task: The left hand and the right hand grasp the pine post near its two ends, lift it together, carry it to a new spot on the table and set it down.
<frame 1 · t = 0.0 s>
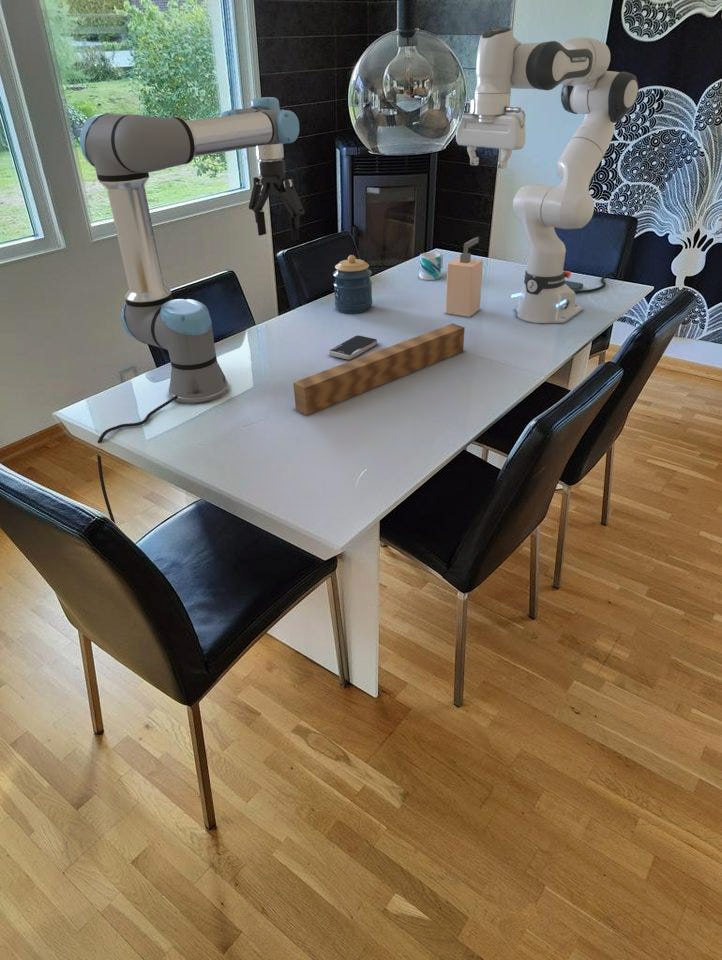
left hand: (278, 237, 202), 28 cm above the table, tool pointing down, fingers open, 13 cm apart
right hand: (488, 166, 175), 48 cm above the table, tool pointing down, fingers open, 8 cm apart
soap dispenser: (465, 309, 225), on the table
mug: (432, 276, 259), on the table
post: (385, 378, 181), on the table
smartphone: (353, 349, 199), on the table
canister: (353, 308, 230), on the table
smartphone 2: (559, 287, 242), on the table
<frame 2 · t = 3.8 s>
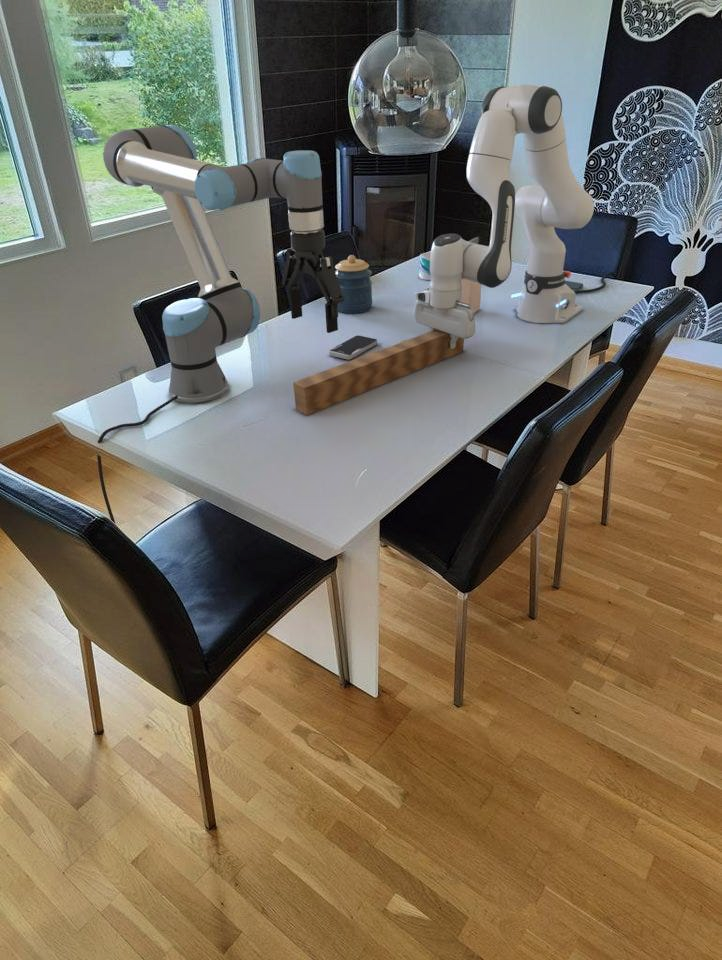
left hand: (314, 324, 158), 21 cm above the table, tool pointing down, fingers open, 13 cm apart
right hand: (443, 345, 191), 3 cm above the table, tool pointing down, fingers closed on post, 4 cm apart
post: (385, 378, 181), on the table, touching right hand
everything else where it was.
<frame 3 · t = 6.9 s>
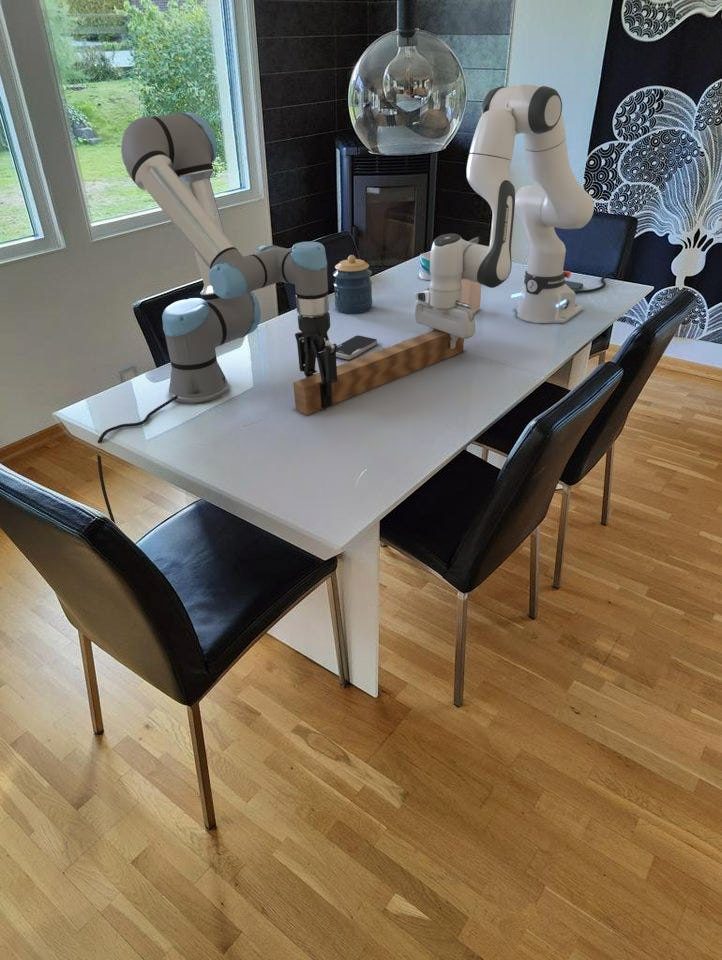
left hand: (320, 402, 169), 1 cm above the table, tool pointing down, fingers closed on post, 5 cm apart
right hand: (443, 345, 191), 3 cm above the table, tool pointing down, fingers closed on post, 4 cm apart
post: (385, 378, 181), on the table, touching left hand, right hand
everything else where it was.
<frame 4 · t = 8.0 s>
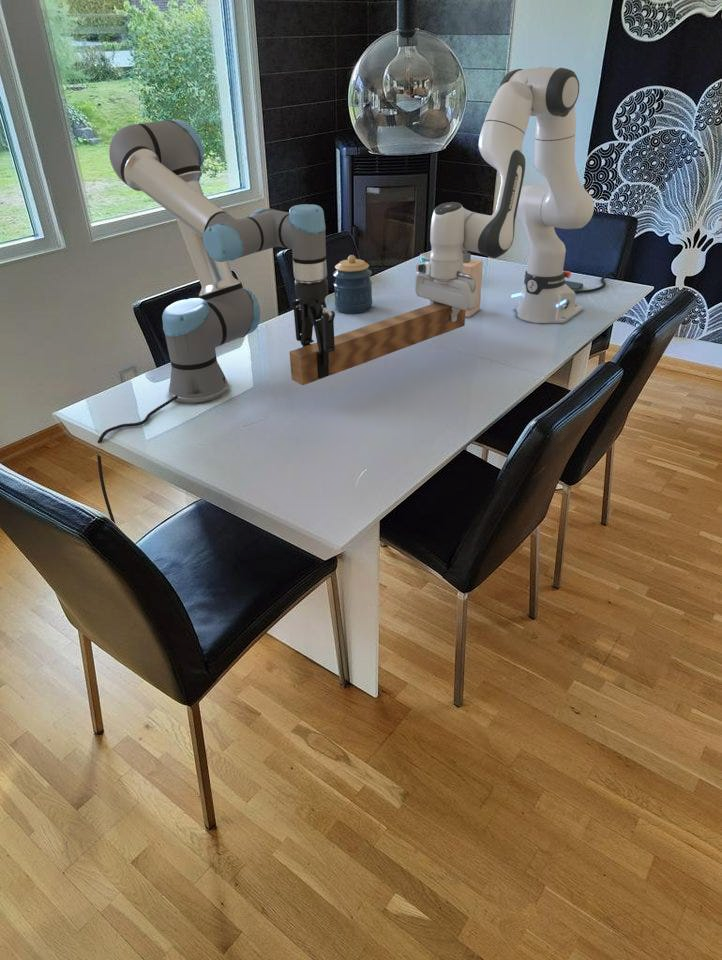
left hand: (316, 373, 165), 8 cm above the table, tool pointing down, fingers closed on post, 5 cm apart
right hand: (444, 318, 187), 11 cm above the table, tool pointing down, fingers closed on post, 4 cm apart
post: (384, 350, 177), point 8 cm above the table, touching left hand, right hand
everything else where it was.
when the left hand's fingers open (2 cm above the table, at t = 12.0 s): post drops 1 cm, on the table.
when the right hand's fingers open (4 cm above the table, at t = 12.2 s): post stays where it is, on the table.
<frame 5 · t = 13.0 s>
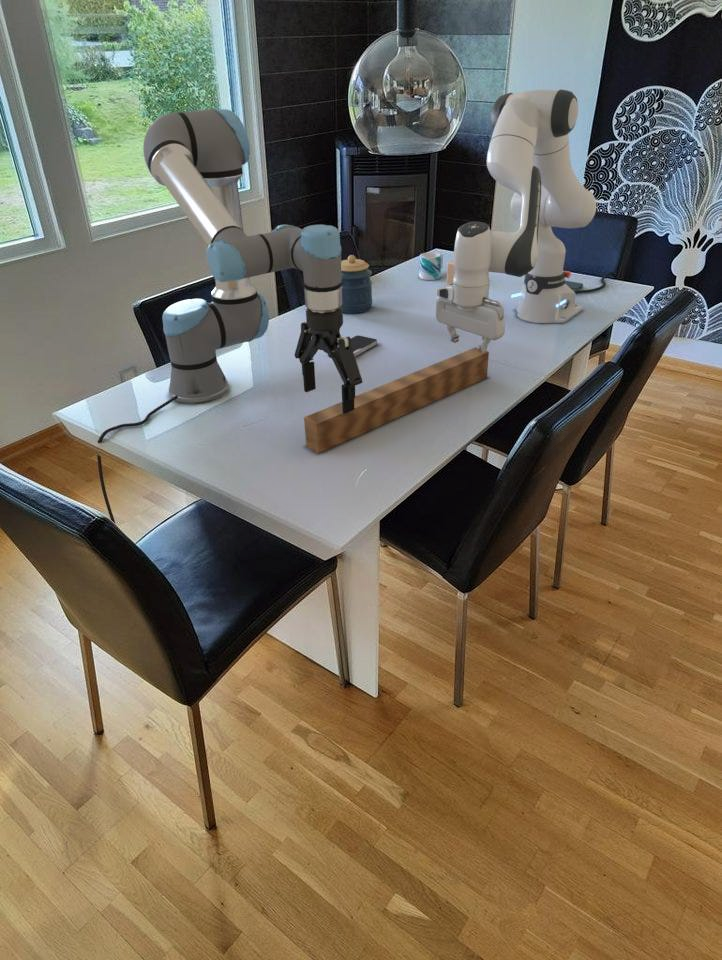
left hand: (328, 400, 148), 10 cm above the table, tool pointing down, fingers open, 13 cm apart
right hand: (468, 346, 172), 10 cm above the table, tool pointing down, fingers open, 8 cm apart
post: (404, 409, 165), on the table
everything else where it was.
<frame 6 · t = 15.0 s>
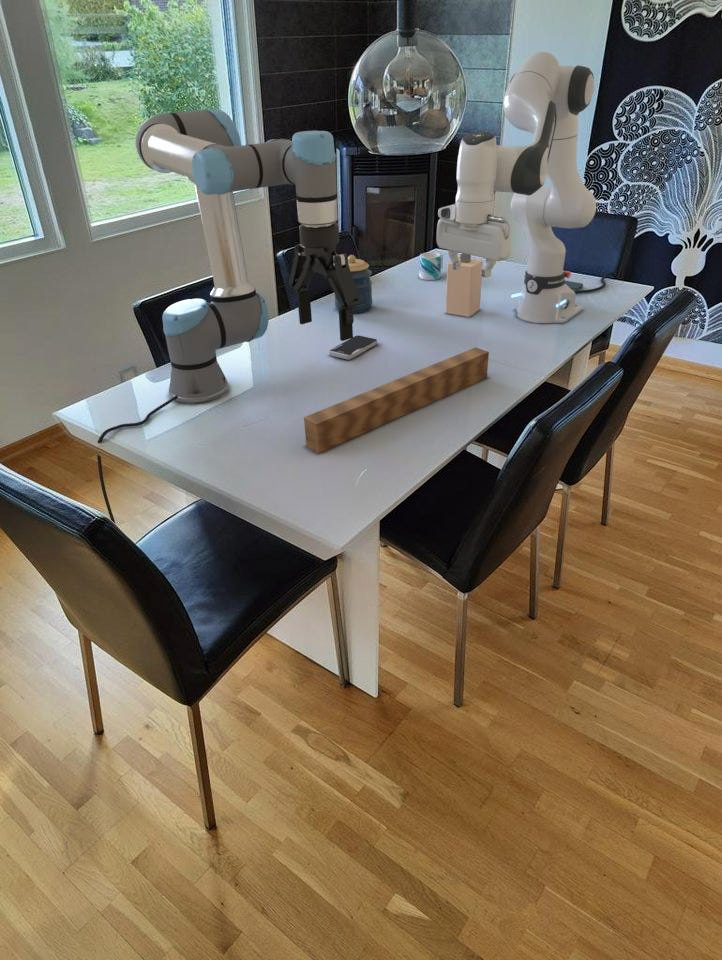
left hand: (325, 330, 139), 26 cm above the table, tool pointing down, fingers open, 13 cm apart
right hand: (470, 272, 161), 29 cm above the table, tool pointing down, fingers open, 8 cm apart
nothing on the table moved.
at the end: post inside the target area (0.3 cm from its centre), on the table; post tilted 0°; post never tilted more than 1° during the clip; both hands held the post at the same time; the left hand is holding nothing; the right hand is holding nothing; post at rest at the end (0.0 cm/s) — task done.
